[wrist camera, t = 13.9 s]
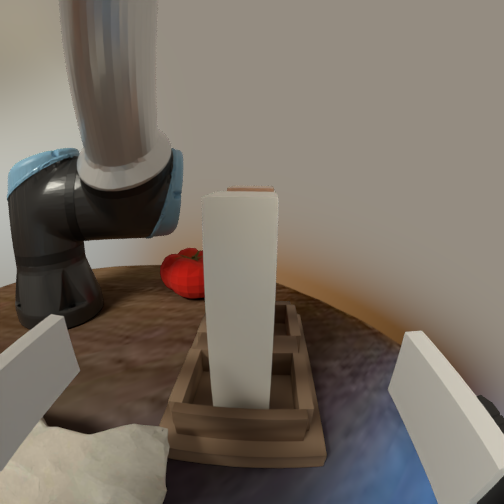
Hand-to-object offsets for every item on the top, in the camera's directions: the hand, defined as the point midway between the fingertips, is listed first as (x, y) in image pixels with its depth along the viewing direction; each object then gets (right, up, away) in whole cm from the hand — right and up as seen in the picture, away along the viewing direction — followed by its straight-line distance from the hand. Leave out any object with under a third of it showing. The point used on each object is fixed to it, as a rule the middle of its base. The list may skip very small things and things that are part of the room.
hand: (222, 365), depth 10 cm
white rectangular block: (0, -8, +12) cm, 14 cm away
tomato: (-9, -3, +38) cm, 39 cm away
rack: (+1, -8, +17) cm, 19 cm away
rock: (-14, -13, 0) cm, 19 cm away
